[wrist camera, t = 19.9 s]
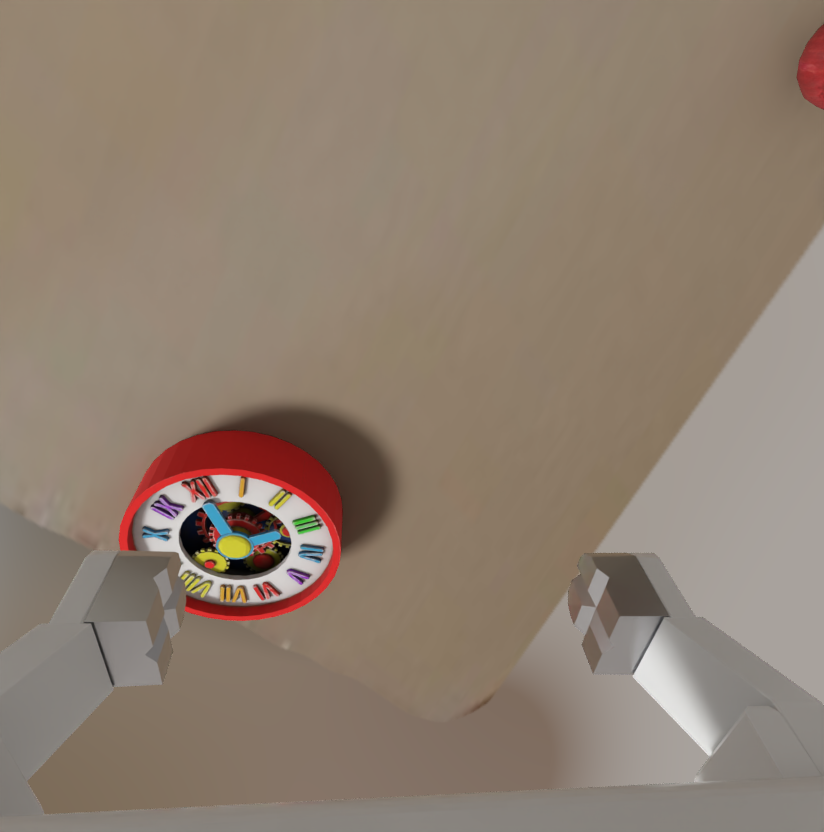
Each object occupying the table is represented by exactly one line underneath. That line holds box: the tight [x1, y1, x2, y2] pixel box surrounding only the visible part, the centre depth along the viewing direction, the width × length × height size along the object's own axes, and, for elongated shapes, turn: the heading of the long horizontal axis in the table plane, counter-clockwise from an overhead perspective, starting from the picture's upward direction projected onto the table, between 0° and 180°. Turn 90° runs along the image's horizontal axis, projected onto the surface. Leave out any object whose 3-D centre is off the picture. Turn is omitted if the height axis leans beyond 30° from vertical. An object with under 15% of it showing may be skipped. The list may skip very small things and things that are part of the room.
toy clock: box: [119, 430, 343, 621], centre depth 53 cm, size 20×6×20 cm
